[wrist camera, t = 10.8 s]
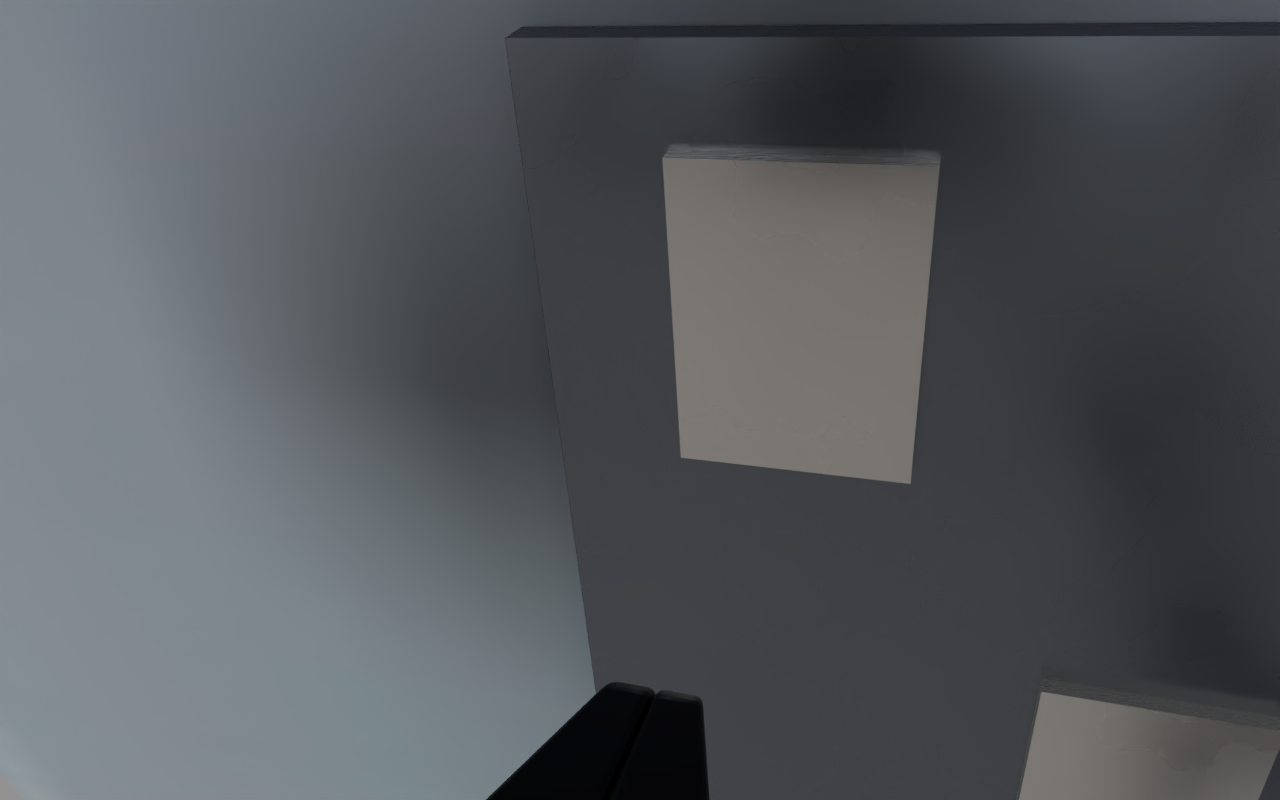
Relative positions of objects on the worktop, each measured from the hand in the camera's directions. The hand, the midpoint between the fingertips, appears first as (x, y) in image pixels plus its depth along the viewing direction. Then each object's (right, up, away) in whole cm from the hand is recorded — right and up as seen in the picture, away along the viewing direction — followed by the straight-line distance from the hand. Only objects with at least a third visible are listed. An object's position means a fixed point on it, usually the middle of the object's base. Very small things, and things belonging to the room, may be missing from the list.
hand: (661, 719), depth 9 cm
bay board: (+6, 0, +8) cm, 10 cm away
